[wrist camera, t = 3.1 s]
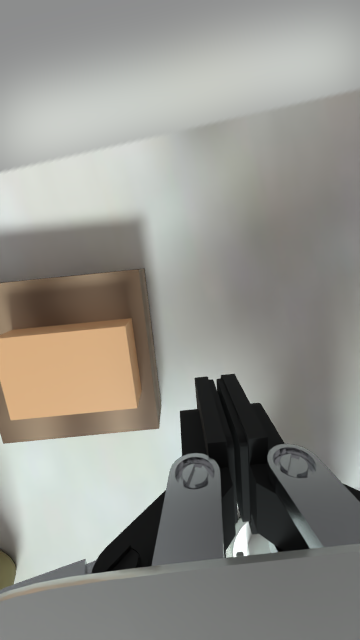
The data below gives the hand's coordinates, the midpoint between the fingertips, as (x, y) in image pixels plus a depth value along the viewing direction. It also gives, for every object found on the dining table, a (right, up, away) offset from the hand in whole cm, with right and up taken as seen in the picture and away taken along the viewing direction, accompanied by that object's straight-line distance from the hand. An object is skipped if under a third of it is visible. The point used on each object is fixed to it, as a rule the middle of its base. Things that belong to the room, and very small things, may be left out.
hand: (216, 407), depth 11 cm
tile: (-9, +1, +9) cm, 13 cm away
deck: (-10, +1, +13) cm, 16 cm away
